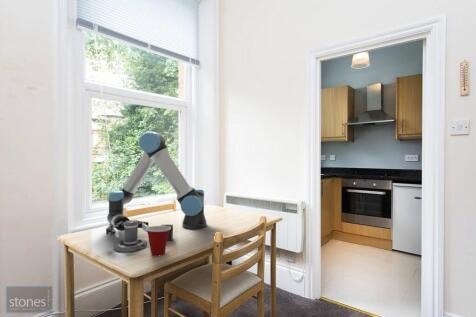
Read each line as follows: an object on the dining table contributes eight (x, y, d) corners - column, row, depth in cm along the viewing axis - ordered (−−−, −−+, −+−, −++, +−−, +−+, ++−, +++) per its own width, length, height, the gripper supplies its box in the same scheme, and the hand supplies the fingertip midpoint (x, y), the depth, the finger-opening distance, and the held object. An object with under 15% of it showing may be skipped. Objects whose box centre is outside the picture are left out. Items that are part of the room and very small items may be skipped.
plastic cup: (175, 250, 120) (175, 225, 120) (161, 259, 110) (161, 231, 110) (155, 247, 124) (156, 223, 124) (140, 256, 114) (140, 229, 114)
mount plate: (151, 241, 133) (151, 237, 133) (140, 252, 118) (140, 248, 118) (122, 241, 133) (122, 237, 133) (107, 252, 118) (107, 247, 118)
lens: (139, 242, 128) (139, 220, 128) (134, 246, 122) (134, 223, 122) (127, 242, 128) (127, 220, 128) (121, 246, 122) (121, 223, 122)
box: (161, 238, 139) (161, 224, 139) (173, 237, 139) (173, 224, 139) (159, 241, 133) (159, 227, 133) (171, 241, 133) (171, 227, 133)
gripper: (144, 225, 147) (158, 234, 131) (94, 233, 131) (104, 245, 115) (144, 212, 147) (158, 219, 131) (94, 218, 131) (104, 228, 115)
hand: (133, 231), depth 123 cm, fingers open, 13 cm apart
